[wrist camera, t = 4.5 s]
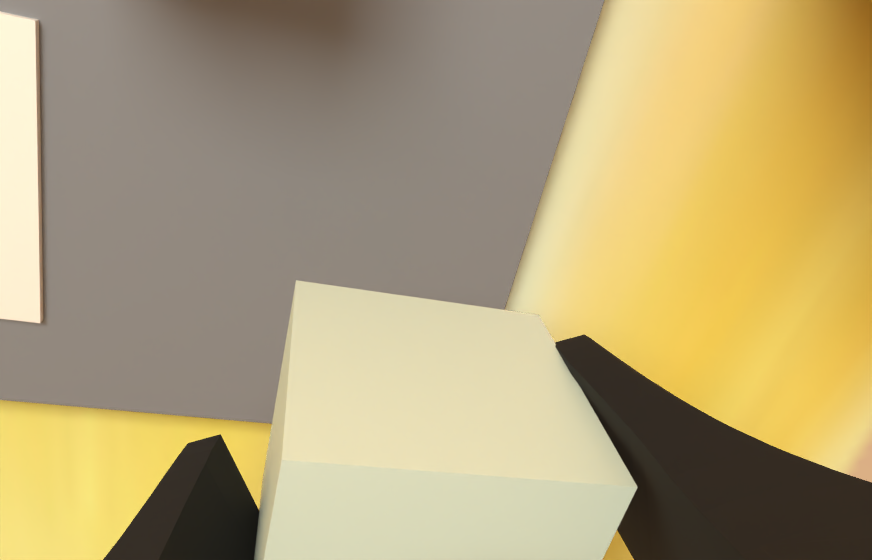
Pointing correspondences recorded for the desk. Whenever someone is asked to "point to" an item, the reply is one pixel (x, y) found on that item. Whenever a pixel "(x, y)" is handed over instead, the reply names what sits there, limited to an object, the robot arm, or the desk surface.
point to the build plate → (257, 178)
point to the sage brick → (431, 437)
